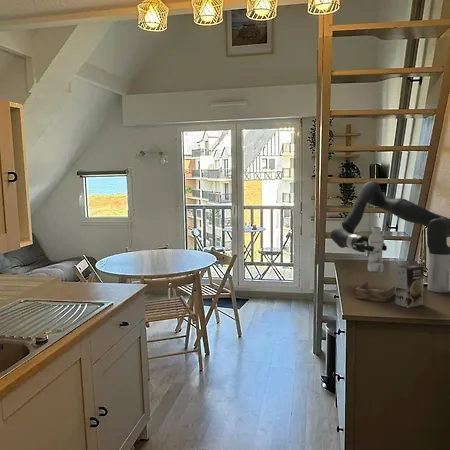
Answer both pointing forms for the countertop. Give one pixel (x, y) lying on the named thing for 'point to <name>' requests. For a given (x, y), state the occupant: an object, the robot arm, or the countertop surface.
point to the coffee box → (409, 285)
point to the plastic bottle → (376, 251)
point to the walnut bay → (374, 293)
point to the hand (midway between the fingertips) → (379, 248)
